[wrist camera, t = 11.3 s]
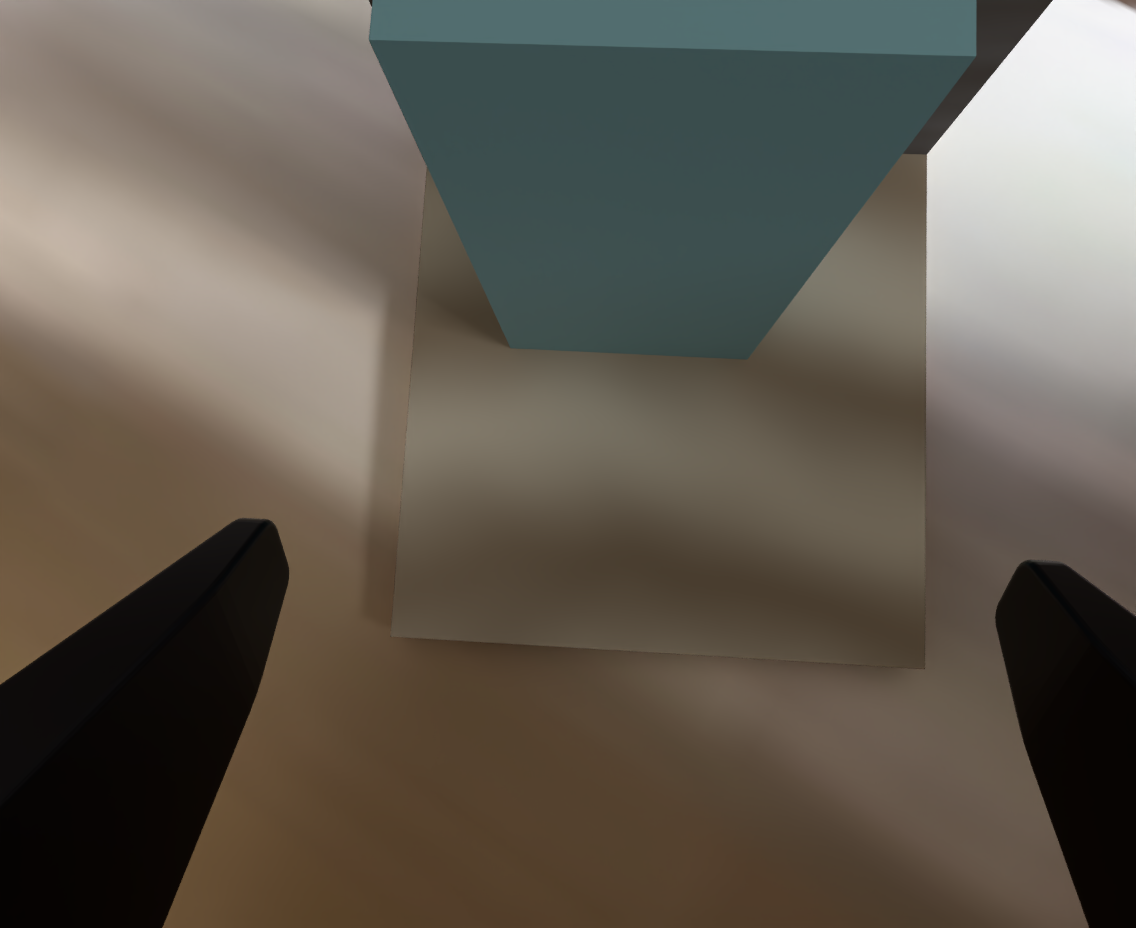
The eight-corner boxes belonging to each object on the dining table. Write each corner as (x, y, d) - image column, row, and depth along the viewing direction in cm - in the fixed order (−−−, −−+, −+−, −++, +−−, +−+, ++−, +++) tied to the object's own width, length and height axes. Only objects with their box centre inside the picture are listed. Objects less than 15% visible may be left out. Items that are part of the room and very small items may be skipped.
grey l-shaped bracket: (909, 663, 21) (1244, 786, 10) (400, 632, 22) (193, 716, 11) (912, 113, 23) (1200, -295, 12) (440, 101, 23) (297, -293, 12)
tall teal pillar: (747, 359, 21) (975, 56, 8) (510, 348, 21) (369, 40, 8) (752, 218, 21) (977, -282, 9) (520, 210, 22) (399, -284, 9)
